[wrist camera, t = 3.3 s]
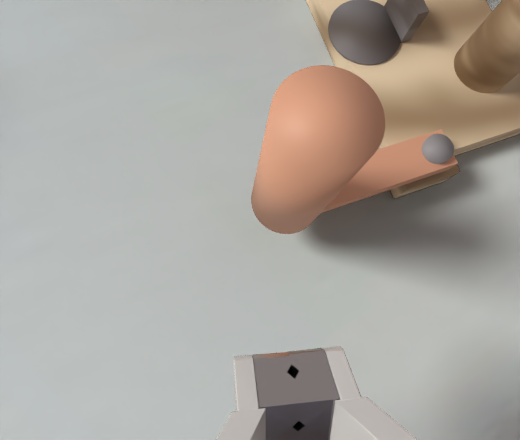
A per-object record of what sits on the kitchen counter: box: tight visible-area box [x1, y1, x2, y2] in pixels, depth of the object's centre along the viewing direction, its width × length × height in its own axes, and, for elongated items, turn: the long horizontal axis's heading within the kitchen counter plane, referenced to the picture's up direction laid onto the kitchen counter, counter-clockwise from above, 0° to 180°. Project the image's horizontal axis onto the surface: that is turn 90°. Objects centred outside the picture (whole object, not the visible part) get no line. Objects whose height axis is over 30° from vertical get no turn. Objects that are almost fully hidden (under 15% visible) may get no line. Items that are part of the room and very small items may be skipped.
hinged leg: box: [251, 65, 458, 234], centre depth 20 cm, size 13×4×11 cm, turn 110°
